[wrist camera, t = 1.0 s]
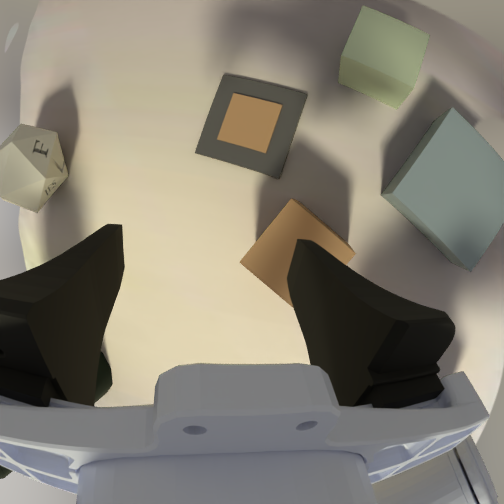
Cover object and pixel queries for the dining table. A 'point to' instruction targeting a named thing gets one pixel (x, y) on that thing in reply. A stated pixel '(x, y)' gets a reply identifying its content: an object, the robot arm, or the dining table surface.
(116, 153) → the dining table surface
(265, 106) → the card
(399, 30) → the sage cube
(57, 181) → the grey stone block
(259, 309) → the dining table surface
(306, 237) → the walnut cube
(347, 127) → the dining table surface
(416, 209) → the slate plinth
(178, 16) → the dining table surface
